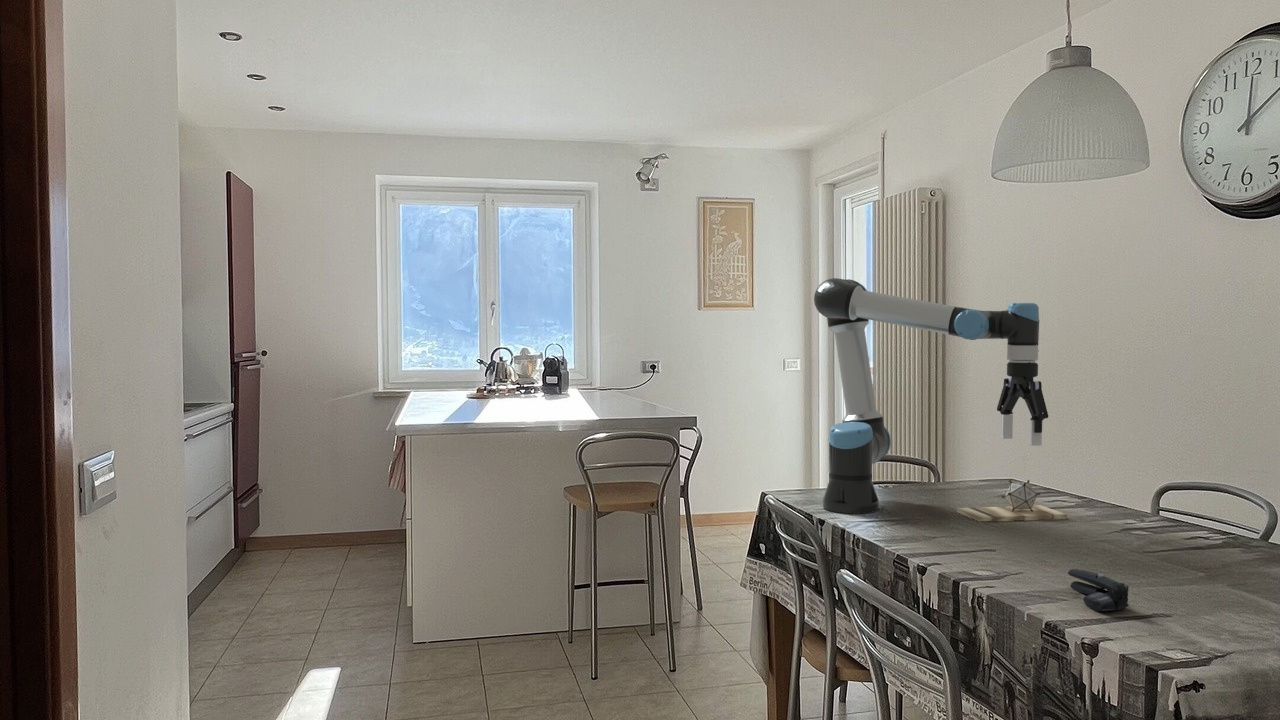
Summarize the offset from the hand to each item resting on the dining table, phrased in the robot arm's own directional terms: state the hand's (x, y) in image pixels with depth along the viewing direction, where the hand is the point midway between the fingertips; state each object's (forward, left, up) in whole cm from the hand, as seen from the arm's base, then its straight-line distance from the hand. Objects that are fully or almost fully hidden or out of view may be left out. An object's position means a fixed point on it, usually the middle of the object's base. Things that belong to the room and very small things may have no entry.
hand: (1020, 442), depth 229 cm
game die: (0, 0, -19) cm, 19 cm away
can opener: (-27, -70, -20) cm, 77 cm away
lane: (-3, 0, -20) cm, 20 cm away
